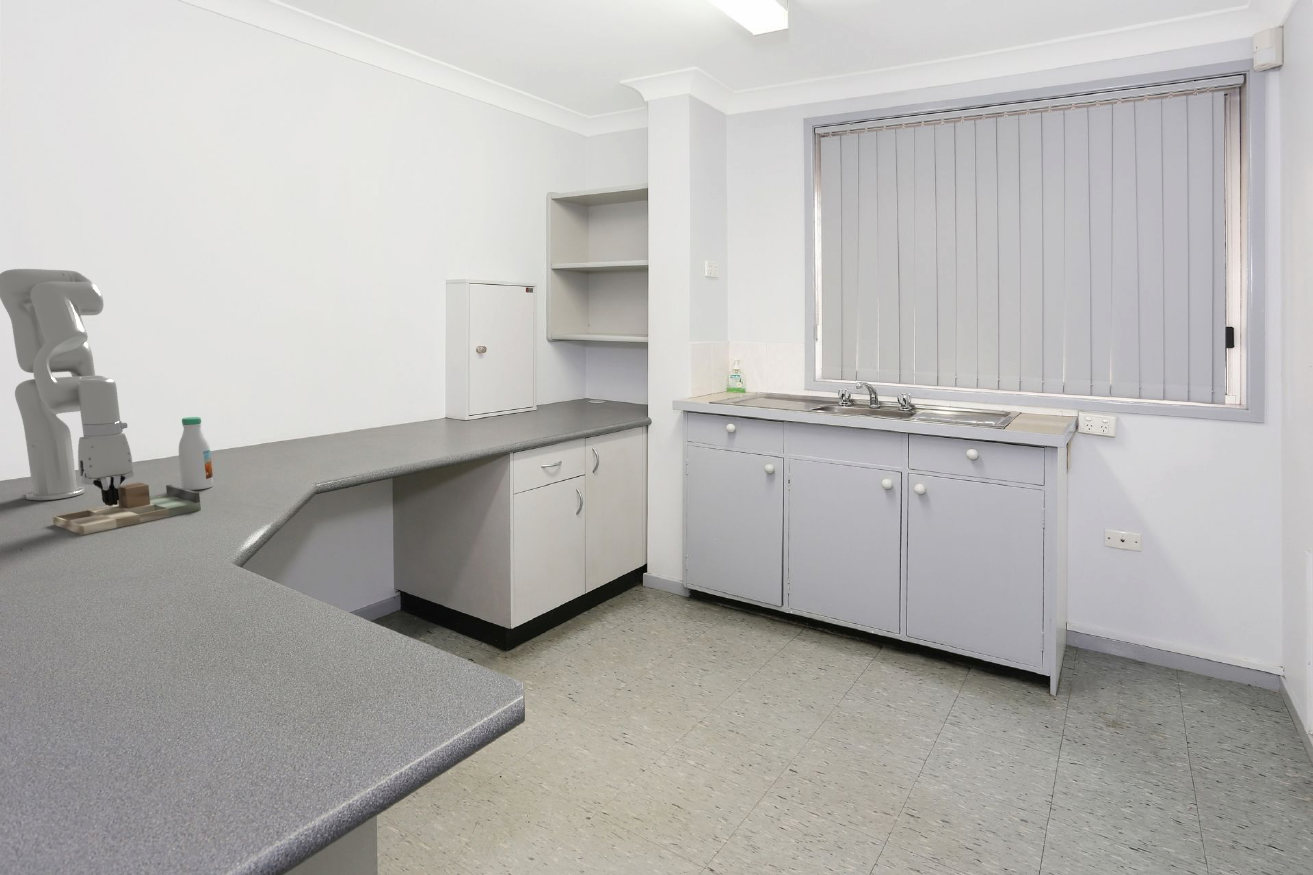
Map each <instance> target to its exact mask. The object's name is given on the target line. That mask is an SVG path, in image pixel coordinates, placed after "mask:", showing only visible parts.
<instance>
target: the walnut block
mask: <svg viewBox="0 0 1313 875" xmlns="http://www.w3.org/2000/svg"><path fill="white" fill-rule="evenodd" d="M118 493H119V500H117V501H118V504H119V506H121V507H124V508H128V509H129V508H134V507H140V506H145V505H150V498H151V496H150V489H149V484H147V483H143V482H139V481H138V482H132V483H128V484H127V483H126V484H121V485H120V487H119V488H118Z"/></svg>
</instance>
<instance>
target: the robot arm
mask: <svg viewBox="0 0 1313 875" xmlns="http://www.w3.org/2000/svg"><path fill="white" fill-rule="evenodd" d="M0 300H1V303H2V305H3V307H4V309H5V310H6V312H7V314H8V317H9V318H10V321H11V326H12V328H11V329H12V334H13V341H14V347H15V354H16V358H17V362H18V365H19V367H20V369H21V370H22V371H24V372H26V373H29V374H33V379H32V378H31V379H28V380H25V381H22V382H20V383H19V384H17V386H16V387H15V391H14V397H15V400H16V401H15V402H16V404H17V406H18V410H19V413H20V416H21V420H22V424H23V430H24V436H25V444H26V450H27V451H26V452H27V458H28V459H27V460H28V464H29V465H28V466H29V473H30V480H31V481H30V482H31V487H32V490H31V491H28V492H26V493H25V499H26V500H29V501H50V500H51V501H52V500H61V499H67V498H72V497H76V496H79V495H82V494H84V493H85V491H86V490H85V487H84V486H80V485H78V482H77V477H76V476H77V475H76V467H75V459H74V452H73V451H74V450H73V443H72V435H71V430H70V428H69V426H68V425H67V423H66V422H64V421H63V420H61V419H60V418H59V417H58V414H59V415H60V414H65V413H74V412H75V413H77V412H80V420H81V427H82V433H83V436H80V437H79V439H78V447H77V449H78V450H77V464H78V465H77V467H78V473H79V474H78V475H79V476H80V477H81V484H82V485H88V486H89V485H90V486H95V487H97V488H98V489H100V491H101V501H102V503H104V505H105V506H113V505H118V504H119V503H118V500H119V493H118V488H119V487H120V485H122V483H124V481H125V480H129V479H131V478H133V477H134V476H135V473H134V472H133V470H134V462H133V458H132V457H133V456H132V452H131V448H130V445H129V441H128V438H127V436H126V434H125V432H124V433H123V430H124V429H127V428H128V422H122V421H121V417H120V416H121V415H120V407H119V399H118V397H119V396H118V392H117V384H116V382H115V380H114V379H112V378H109V377H108V378H107V377H105V376H103V375H96V370H95V363H94V358H93V352H92V349H91V347H90V344H89V343H88V342H87V341H88V339H89V338H88V333H87V330H86V328H85V325H84V323H83V319H82V317H81V316H97V315H100V314H101V313H102V311H103V309H104V298H103V295H102V293H101V291H100V289H99V288H98V286H97V285H96V284H95V283H94V282H93V281H92V280H91V279H89V278H87V277H86V276H85V275H83V274H82V273H80V272H78V271H75V270H66V269H65V270H63V269H44V268H43V269H41V268H13V269H7V270H4V271H3V272H0ZM52 373H70V374H71V376H62V377H61V376H60V377H54V376H53V374H52ZM107 478H109V483H108V479H107Z"/></svg>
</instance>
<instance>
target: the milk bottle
mask: <svg viewBox="0 0 1313 875" xmlns="http://www.w3.org/2000/svg"><path fill="white" fill-rule="evenodd" d="M181 424H182V427H183V431H182V435H181V438H180V439H179V440H180V441H179V442H178V443H179V444H178V460H179V471H180V481H181V483H180V484H181V488H183V489H187V490H191V491H197V490H206V489H209V488H212V487H213V486H214V477H213V476H214V474H213V473H214V472H213V466H212V464H213V463H212V456H211V448H210V447H211V446H210V443H209V441H208V438H207V437H206V436H205V434H204V432H203V430H202V418H201V417H200V416H199V417H198V416H191V417H190V416H189V417H183V418H182V419H181Z"/></svg>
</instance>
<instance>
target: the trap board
mask: <svg viewBox="0 0 1313 875" xmlns="http://www.w3.org/2000/svg"><path fill="white" fill-rule="evenodd" d="M165 489H166V494H164V495H158V496H152V497H150V505H145V506H140V507H134V508H129V509H128V508H124V507H121V506H119V503H118V505H113V506H108V505H105V506H100V507H95V508H89V509H84V510H78V511H73V512H69V513H62V514H58V515H57V514H56V515H53V516H52V523H53V525H54V526H57V527H59V528H62V529H65V530H68V531H70V532H72V533H75V534H77V535H81V536H84V535H88V534H89V535H90V534H93V533H99V532H103V531H108V530H112V529H117V528H121V527H127V526H131V525H136V524H141V523H144V522H146V523H147V522H150V521H151V522H152V521H154V520H159V519H164V518H169V517H173V516H174V517H175V516H179V515H184V514H189V513H193V512H197V511H201V510H202V507H201V497H200V492H199V491H196V490H187V489H183V488H182V487H178V486H175V485H172V484H167V485H165Z"/></svg>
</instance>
